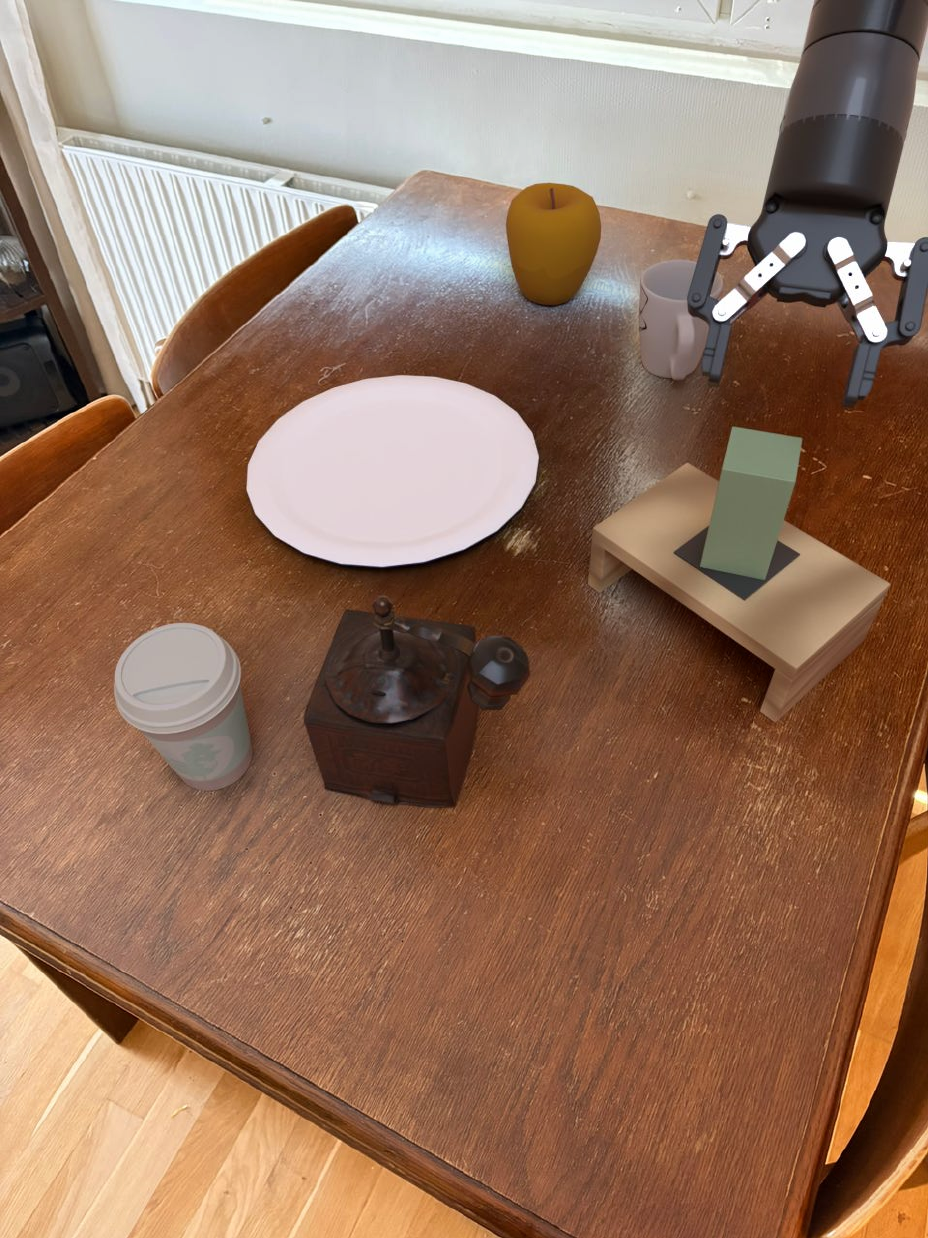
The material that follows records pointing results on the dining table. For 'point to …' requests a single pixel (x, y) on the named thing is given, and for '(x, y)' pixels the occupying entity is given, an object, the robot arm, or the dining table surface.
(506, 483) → the plate
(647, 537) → the shelf
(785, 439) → the green carton
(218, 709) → the coffee cup
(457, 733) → the coffee grinder
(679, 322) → the mug
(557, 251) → the apple
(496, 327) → the dining table surface
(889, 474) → the dining table surface
